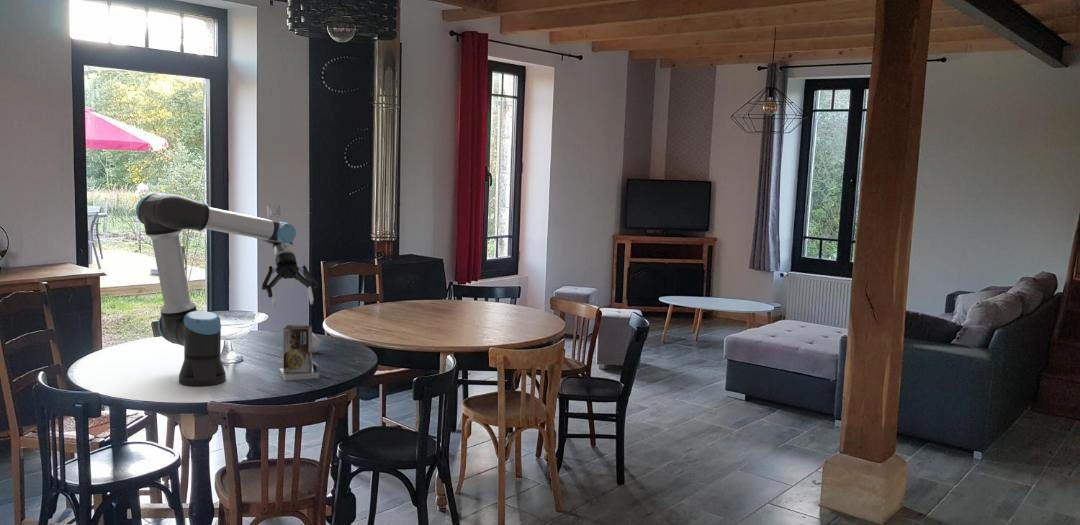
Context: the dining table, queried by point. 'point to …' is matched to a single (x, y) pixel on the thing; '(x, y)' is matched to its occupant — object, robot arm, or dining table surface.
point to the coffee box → (297, 348)
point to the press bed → (298, 376)
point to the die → (315, 343)
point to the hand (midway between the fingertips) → (293, 303)
